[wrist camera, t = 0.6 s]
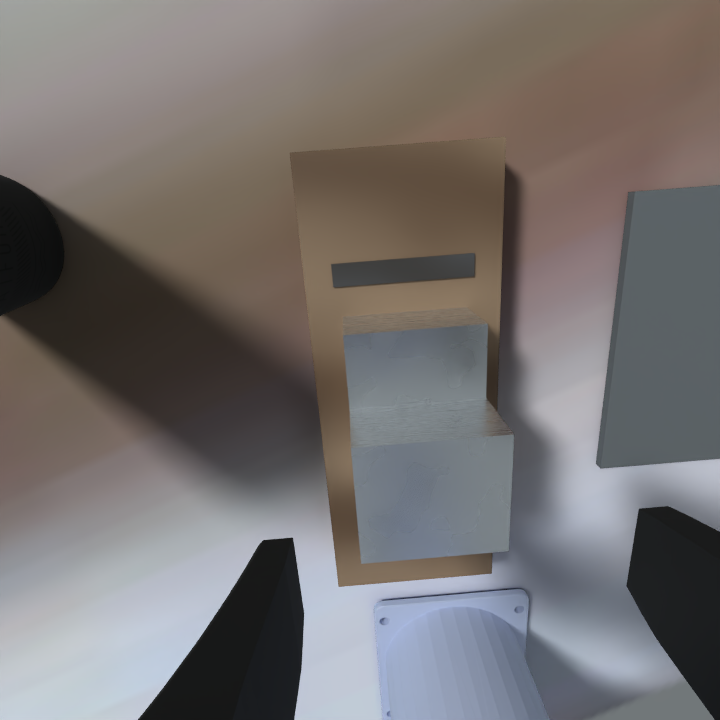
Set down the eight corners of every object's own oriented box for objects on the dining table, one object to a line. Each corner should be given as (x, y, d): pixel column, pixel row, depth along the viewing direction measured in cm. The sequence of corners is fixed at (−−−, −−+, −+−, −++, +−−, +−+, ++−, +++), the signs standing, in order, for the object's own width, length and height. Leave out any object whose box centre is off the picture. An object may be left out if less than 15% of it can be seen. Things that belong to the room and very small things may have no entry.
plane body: (478, 542, 22) (492, 575, 20) (339, 554, 22) (338, 588, 20) (486, 145, 16) (507, 136, 14) (295, 159, 16) (289, 152, 14)
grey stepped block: (465, 472, 18) (507, 564, 14) (357, 481, 18) (362, 576, 13) (466, 306, 16) (518, 347, 11) (342, 316, 16) (343, 361, 11)
